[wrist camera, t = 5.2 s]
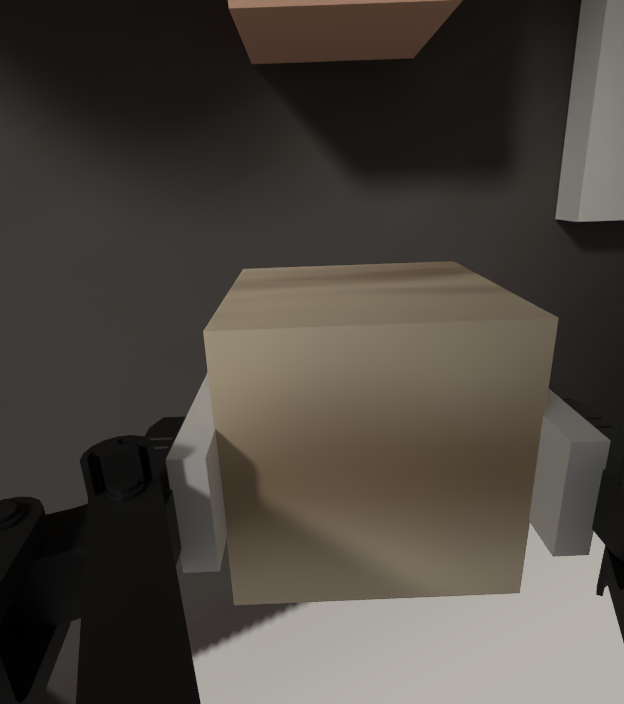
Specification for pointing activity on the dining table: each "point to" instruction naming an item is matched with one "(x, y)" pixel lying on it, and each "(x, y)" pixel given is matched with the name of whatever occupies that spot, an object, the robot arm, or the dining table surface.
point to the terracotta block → (336, 28)
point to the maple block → (376, 430)
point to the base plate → (595, 119)
